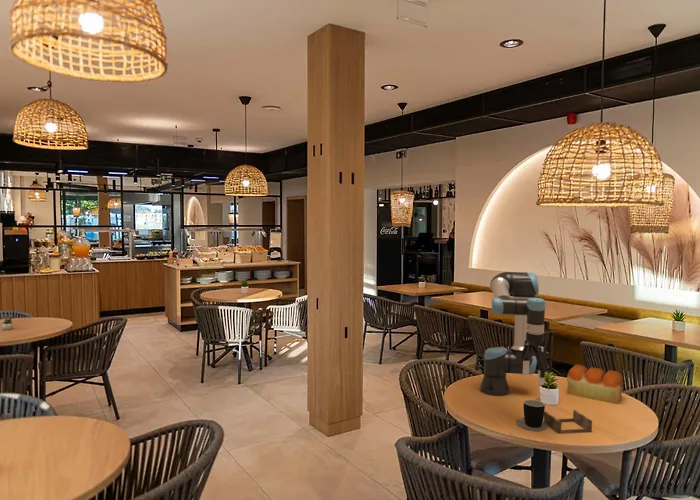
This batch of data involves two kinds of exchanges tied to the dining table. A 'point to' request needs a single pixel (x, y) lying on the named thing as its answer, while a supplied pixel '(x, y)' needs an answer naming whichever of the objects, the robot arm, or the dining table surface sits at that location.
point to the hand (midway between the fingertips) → (533, 379)
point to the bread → (595, 384)
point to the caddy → (577, 418)
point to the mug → (534, 413)
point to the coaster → (522, 424)
